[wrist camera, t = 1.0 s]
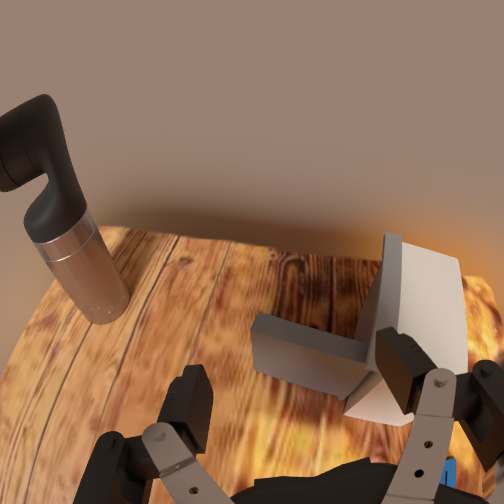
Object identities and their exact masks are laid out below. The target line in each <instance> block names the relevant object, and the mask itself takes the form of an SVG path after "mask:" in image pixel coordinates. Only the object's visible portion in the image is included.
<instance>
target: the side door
mask: <svg viewBox="0 0 504 504" xmlns="http://www.w3.org/2000/svg"><path fill="white" fill-rule="evenodd" d="M381 264H382V262H381ZM381 264H380V267H379V270H378V272H377V274H376V277H375V279H374V282H373V284H372V286H371V289H370V291H369V293H368V296H367V298H366V300H365V303H364V305H363V307H362V309H361V311H360V313H359V317H358V322H357V327H356V331H355V335H354V340H353V339H350V338H346V337H342V336H339V335H335V334H331V333H328V332H324V331H321V330H318V329H314V328H311V327H307V326H304V325H301V324H297V323H294V322H291V321H288V320H284V319H281V318H278V317H275V316H272V315H269V314H266V313H262V312H259V313H258V315H257V317H256V319H255V321H254V323H253V325H252V327H251V329H250V331H251V342H252V352H253V362H254V370H255V371H258V372H261V373H264V374H266V375H269V376H272V377H275V378H278V379H281V380H284V381H287V382H290V383H293V384H296V385H300V386H303V387H306V388H309V389H313V390H316V391H320V392H323V393H327V394H331V395H334V396H338V397H337V399H339V400H344V399H345V398H346V397H347V396H348V395H349V394H350V393H351V392H352V391H353V390H354V389H355V388H356V386H357V385H358V384H359V383H360V382H361V381H362V380H363V379H364V378H365V376H366V375H367V374H368V373H369V372H370V370H366V369H364V368H365V363H366V359H367V354H368V350H369V345H370V340H371V334H372V329H373V323H374V317H375V311H376V305H377V298H378V290H379V282H380V274H381Z"/></svg>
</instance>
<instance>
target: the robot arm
mask: <svg viewBox="0 0 504 504" xmlns="http://www.w3.org/2000/svg"><path fill="white" fill-rule="evenodd" d="M44 173H46V174H47V175H48V179H49V182H48V184H47V186H46V187H45V189H44V190H43V191H42V193H41V194H40V195H39V196H38V197H37V198H36V200H35V201H34V202H33V203H32V204H31V205H30V207H29V208H28V210H27V212H26V214H25V217H24V227H25V229H26V231H27V233H28V235H29V237H30V238H31V240H32V242H33V243H34V245H35V247H36V248H37V250H38V252H39V253H40V255H41V256H42V258H43V259H44V261H45V262H46V264H47V266H48V267H49V269H50V270H51V272H52V273H53V274H54V276H55V277H56V279H57V280H58V282H59V283H60V285H61V286H62V287H63V289H64V290H65V291H66V293H67V294H68V295H69V297H70V298H71V299H72V301H73V302H74V303H75V305H76V306H77V307H78V309H79V310H80V311H81V312H82V314H83V315H84V316H85V317H86V318H87V320H88V321H90V322H91V323H94V324H106V323H109V322H111V321H113V320H115V319H116V318H118V317H119V316H120V315H121V314H122V313H123V312H124V310H125V309H126V307H127V305H128V303H129V298H130V292H129V289H128V287H127V285H126V284H125V282H124V280H123V278H122V276H121V274H120V272H119V270H118V268H117V267H116V265H115V263H114V261H113V259H112V257H111V255H110V253H109V251H108V249H107V247H106V245H105V243H104V241H103V238H102V236H101V234H100V232H99V230H98V228H97V225H96V223H95V221H94V219H93V217H92V214H91V212H90V210H89V208H88V205H87V203H86V200H85V198H84V196H83V193H82V191H81V188H80V185H79V183H78V180H77V178H76V175H75V172H74V169H73V166H72V163H71V159H70V156H69V153H68V149H67V145H66V140H65V137H64V132H63V127H62V124H61V120H60V116H59V113H58V109H57V106H56V104H55V102H54V101H53V99H52V98H51V97H50V96H49V95H47V94H42V95H39V96H37V97H35V98H33V99H31V100H28V101H27V102H25V103H23V104H21V105H19V106H17V107H16V108H14V109H12V110H10V111H9V112H7V113H6V114H4V115H2V116H1V117H0V191H1V192H8V191H12V190H14V189H16V188H18V187H20V186H22V185H24V184H25V183H27V182H29V181H31V180H32V179H34V178H36V177H38V176H40V175H42V174H44ZM375 362H376V366H377V368H378V370H379V372H380V373H381V375H382V377H383V379H384V380H385V382H386V384H387V386H388V387H389V389H390V391H391V393H392V395H393V396H394V398H395V400H396V402H397V403H398V405H399V407H400V409H401V411H402V413H403V414H404V415H407V414H409V413H413V414H414V419H413V423H412V426H411V429H410V432H409V435H408V438H407V441H406V444H405V446H404V449H403V452H402V454H401V457H400V459H399V462H398V464H397V465H395V464H390V463H371V461H370V458H369V457H367V458H363V459H360V460H357V461H353V462H350V463H346V464H342V465H340V466H338V467H336V468H333V469H331V470H329V471H327V472H325V473H322V474H320V475H318V476H315V477H289V476H280V477H272V478H262V479H254V486H252V487H249V488H246V489H244V490H242V491H240V492H238V493H236V494H235V495H233V496H232V497H230V498H229V497H228V496H227V495H226V494H225V493H224V491H223V490H222V489H221V488H220V487H219V486H218V485H217V484H216V482H215V481H214V480H213V479H212V478H211V477H210V475H209V474H208V473H207V472H206V471H205V469H204V468H203V467H202V466H201V464H200V463H199V462H198V461H197V459H196V454H203V453H205V451H206V444H207V438H208V431H209V425H210V418H211V412H212V406H213V390H212V387H211V384H210V382H209V379H208V377H207V374H206V372H205V369H204V367H203V365H202V364H198V365H187V366H185V368H184V371H183V374H182V376H181V377H176V378H175V379H174V380H173V381H172V383H171V384H170V386H169V388H168V391H167V394H166V397H165V400H164V403H163V405H162V408H161V411H160V414H159V417H158V420H157V423H154V424H152V425H150V426H148V427H147V428H146V429H145V430H144V432H143V434H142V435H140V436H136V437H130V438H124V437H123V435H122V434H121V433H119V432H116V431H110V432H106V433H104V434H103V435H101V436H100V437H99V438H98V440H97V442H96V444H95V447H94V449H93V451H92V454H91V456H90V459H89V461H88V464H87V466H86V469H85V471H84V474H83V477H82V479H81V482H80V485H79V487H78V490H77V493H76V496H75V498H74V501H73V504H148V503H149V498H150V493H151V487H152V482H153V479H156V478H160V479H161V480H162V482H163V484H164V485H165V487H166V488H167V490H168V492H169V493H170V495H171V496H172V498H173V499H174V501H175V502H176V504H504V371H503V370H502V369H501V368H500V367H499V366H498V364H497V363H495V362H494V361H491V360H480V361H478V362H477V363H475V365H474V366H473V369H472V372H468V373H463V374H457V375H455V374H454V373H453V372H452V371H451V370H449V369H446V368H438V367H437V366H436V364H435V363H434V362H433V361H432V360H431V358H430V357H429V356H428V355H427V354H426V353H425V351H424V350H422V348H421V347H420V346H419V345H418V343H417V342H416V341H415V340H414V339H413V338H412V337H411V336H409V335H407V334H405V333H402V334H399V333H398V332H397V331H396V330H395V328H394V327H392V326H390V327H387V328H383V329H380V330H377V331H376V341H375ZM455 421H458V422H459V423H460V425H461V427H462V429H463V430H464V432H465V434H466V436H467V438H468V439H469V441H470V443H471V445H472V447H473V449H474V451H475V452H476V454H477V456H478V458H479V460H480V462H481V464H482V466H483V468H484V470H485V472H486V474H485V476H484V478H483V481H482V488H483V489H482V492H483V498H482V497H480V496H477V495H474V494H470V493H467V492H464V491H461V490H458V489H455V488H452V487H449V486H447V485H444V484H441V483H439V482H440V479H441V475H442V472H443V468H444V465H445V461H446V457H447V453H448V449H449V445H450V440H451V435H452V430H453V424H454V422H455Z"/></svg>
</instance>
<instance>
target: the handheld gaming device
mask: <svg viewBox="0 0 504 504" xmlns="http://www.w3.org/2000/svg"><path fill="white" fill-rule="evenodd" d="M455 482H456V460H455V459H454V458H451V459H448V460H446V461H445V465H444V468H443V472H442V475H441V479H440V482H439V483H441V484H444V485H447V486H449V487H452V488H455Z"/></svg>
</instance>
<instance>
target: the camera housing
mask: <svg viewBox="0 0 504 504" xmlns="http://www.w3.org/2000/svg"><path fill="white" fill-rule="evenodd" d="M383 241H384V242H383V254H382V264H381V274H380V282H379V290H378V298H377V305H376V311H375V317H374V323H373V329H372V334H371V340H370V345H369V350H368V354H367V359H366V363H365V368H364V369H366V370H370V372H369V373H368V374H367V375H366V376H365V378H364V379H363V380H362V381H361V382H360V383H359V384H358V385H357V386H356V388H355V389H354V390H353V391H352V392H351V393H350V394H349V397H348V400H347V404H346V407H345V410H344V413H343V415H346V416H350V417H354V418H359V419H363V420H368V421H373V422H378V423H383V424H389V425H395V426H403V425H405V424H407V423H409V422H411V421H413V419H414V414H413V413H409V414H407V415H404V414H403V413H402V411H401V409H400V407H399V405H398V403H397V402H396V400H395V398H394V396H393V395H392V393H391V391H390V389H389V387H388V386H387V384H386V382H385V380H384V379H383V377H382V375H381V373H380V372H379V370H378V368H377V366H376V362H375V341H376V331H377V330H380V329H383V328H387V327H390V326H392V327H394V328H395V330H396V331H397V332H398V333H399V334H402V333H405V334H407V335H409V336H411V337H412V338H413V339H414V340H415V341H416V342H417V343H418V345H419V346H420V347H421V348H422V350H424V351H425V353H426V354H427V355H428V356H429V357H430V358H431V360H432V361H433V362H434V363H435V364H436V366H437V367H438V368H446V369H449V370H451V371H452V372H453V373H454V374H455V375H457V374H463V373H467V364H468V355H467V327H466V314H465V304H464V295H463V287H462V280H461V274H460V268H459V263H458V259H457V258H454V257H450V256H447V255H444V254H441V253H437V252H434V251H431V250H427V249H424V248H421V247H418V246H414V245H411V244H407V243H404V242H402V236H400V235H397V234H393V233H390V232H385V235H384V240H383Z"/></svg>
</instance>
